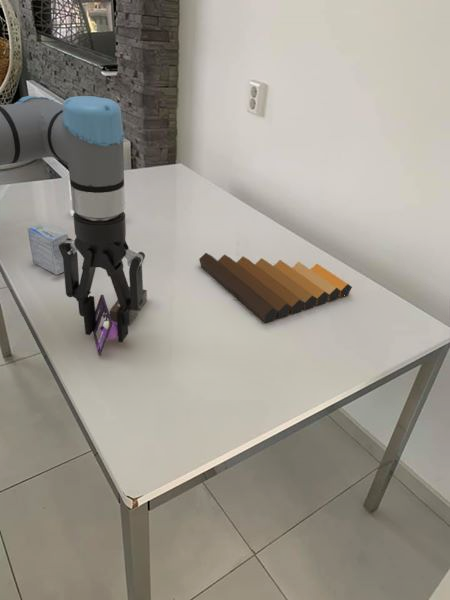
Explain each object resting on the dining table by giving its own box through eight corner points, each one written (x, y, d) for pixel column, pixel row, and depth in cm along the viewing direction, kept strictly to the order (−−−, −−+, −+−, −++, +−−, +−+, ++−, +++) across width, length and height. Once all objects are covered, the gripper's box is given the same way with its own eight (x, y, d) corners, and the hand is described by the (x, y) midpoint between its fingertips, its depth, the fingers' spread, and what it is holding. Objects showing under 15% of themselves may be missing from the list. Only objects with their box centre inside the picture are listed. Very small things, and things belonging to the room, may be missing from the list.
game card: (97, 293, 80) (105, 322, 73) (125, 297, 82) (136, 326, 76) (86, 323, 82) (94, 355, 76) (114, 327, 85) (124, 357, 78)
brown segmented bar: (109, 321, 86) (109, 309, 84) (128, 296, 93) (128, 285, 92) (129, 325, 85) (129, 314, 84) (146, 300, 92) (146, 289, 91)
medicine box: (72, 268, 100) (69, 233, 95) (56, 276, 97) (51, 239, 92) (49, 256, 103) (44, 221, 98) (32, 263, 100) (26, 227, 95)
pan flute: (198, 266, 106) (262, 324, 89) (199, 254, 104) (265, 310, 87) (280, 247, 118) (349, 294, 102) (282, 235, 117) (353, 282, 100)
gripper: (166, 212, 69) (163, 332, 82) (55, 192, 71) (69, 312, 84) (149, 232, 63) (149, 358, 76) (28, 209, 65) (47, 335, 78)
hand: (107, 333), depth 80 cm, fingers closed on game card, 5 cm apart
